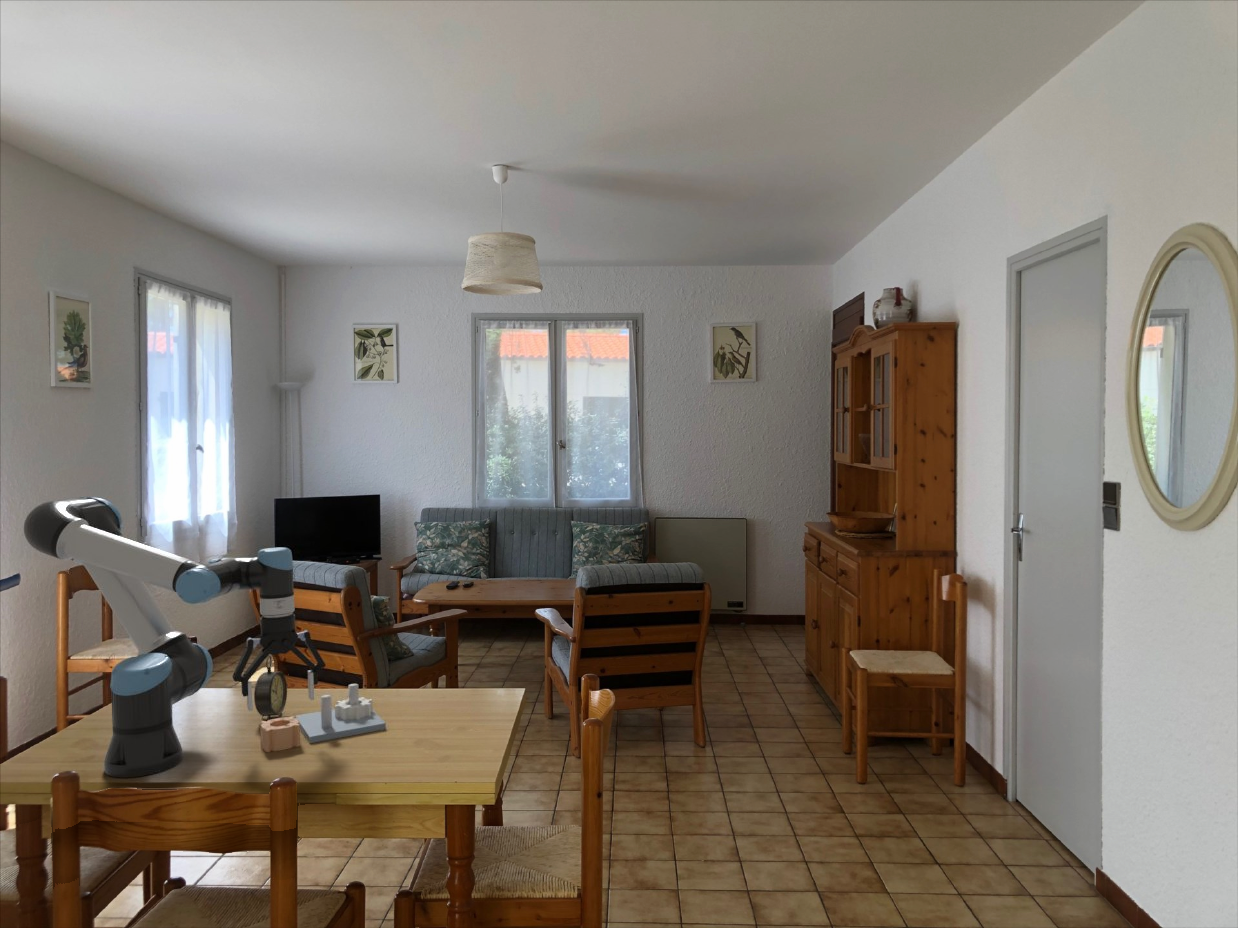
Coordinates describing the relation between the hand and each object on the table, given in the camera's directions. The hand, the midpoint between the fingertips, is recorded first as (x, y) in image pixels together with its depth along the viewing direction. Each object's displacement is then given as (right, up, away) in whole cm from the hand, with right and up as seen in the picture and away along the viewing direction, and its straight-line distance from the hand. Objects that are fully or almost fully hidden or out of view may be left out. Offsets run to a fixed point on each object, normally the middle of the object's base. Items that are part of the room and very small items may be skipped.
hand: (281, 703), depth 201 cm
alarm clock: (-10, -9, +19) cm, 23 cm away
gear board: (+9, -9, +13) cm, 19 cm away
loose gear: (0, -10, 0) cm, 10 cm away
